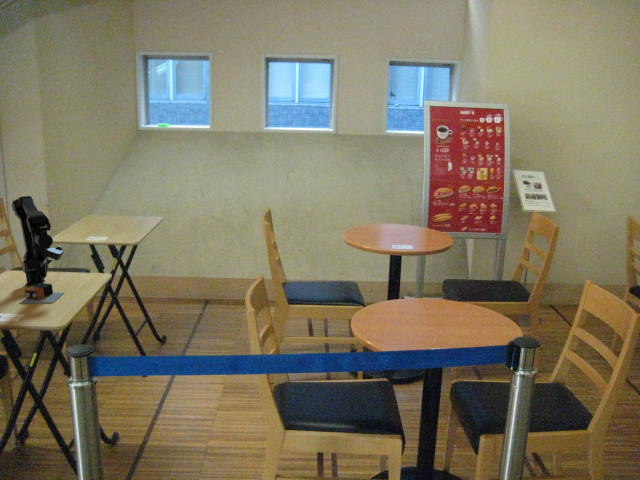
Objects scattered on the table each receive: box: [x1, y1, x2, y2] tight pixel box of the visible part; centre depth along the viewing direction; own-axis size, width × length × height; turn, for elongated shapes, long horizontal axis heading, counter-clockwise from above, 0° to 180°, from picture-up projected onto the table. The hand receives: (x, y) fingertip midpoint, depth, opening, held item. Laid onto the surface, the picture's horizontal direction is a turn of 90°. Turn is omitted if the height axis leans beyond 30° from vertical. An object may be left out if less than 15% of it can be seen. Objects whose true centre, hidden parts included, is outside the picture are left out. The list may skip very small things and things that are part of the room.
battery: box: [24, 282, 54, 300], centre depth 251 cm, size 4×7×10 cm
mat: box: [19, 292, 65, 305], centre depth 250 cm, size 14×12×1 cm
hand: (44, 277), depth 253 cm, fingers closed
